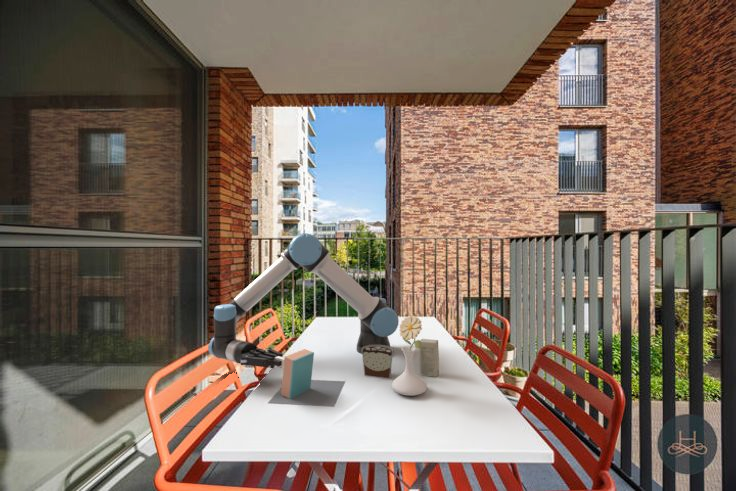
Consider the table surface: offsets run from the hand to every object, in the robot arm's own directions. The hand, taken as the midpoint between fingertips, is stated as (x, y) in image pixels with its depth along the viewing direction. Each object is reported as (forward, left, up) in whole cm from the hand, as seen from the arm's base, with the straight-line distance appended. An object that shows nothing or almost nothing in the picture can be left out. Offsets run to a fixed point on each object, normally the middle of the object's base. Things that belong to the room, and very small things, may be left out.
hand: (290, 364), depth 106 cm
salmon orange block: (-2, 0, -9) cm, 9 cm away
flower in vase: (-38, -5, -10) cm, 39 cm away
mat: (-6, -1, -9) cm, 11 cm away
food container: (-27, -19, -10) cm, 34 cm away
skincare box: (-45, -21, -10) cm, 50 cm away
